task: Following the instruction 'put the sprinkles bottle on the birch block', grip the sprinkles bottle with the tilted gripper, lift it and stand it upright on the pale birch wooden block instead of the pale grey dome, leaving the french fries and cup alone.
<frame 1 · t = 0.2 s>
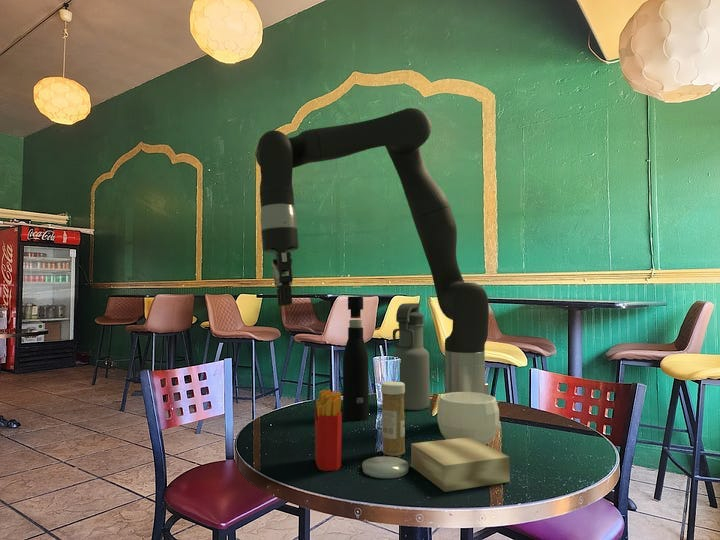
hand: (284, 305, 103), 28 cm above the table, tool pointing down, fingers open, 8 cm apart
birch block: (458, 473, 84), on the table
water bottle: (411, 407, 134), on the table
sprinkles bottle: (393, 453, 95), on the table
french fries: (328, 465, 89), on the table
black bottle: (355, 418, 122), on the table
pale grey dome: (385, 469, 86), on the table
cup: (468, 446, 100), on the table
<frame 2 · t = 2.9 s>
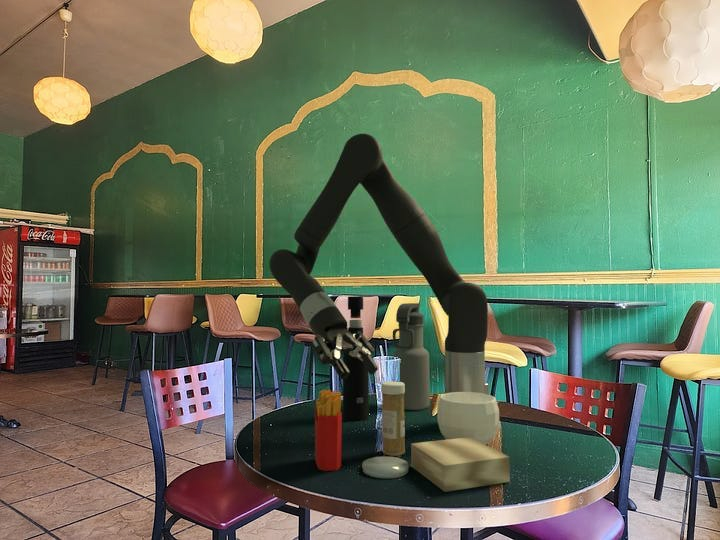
hand: (361, 374, 102), 14 cm above the table, tool tilted 45°, fingers open, 8 cm apart
nothing on the table moved.
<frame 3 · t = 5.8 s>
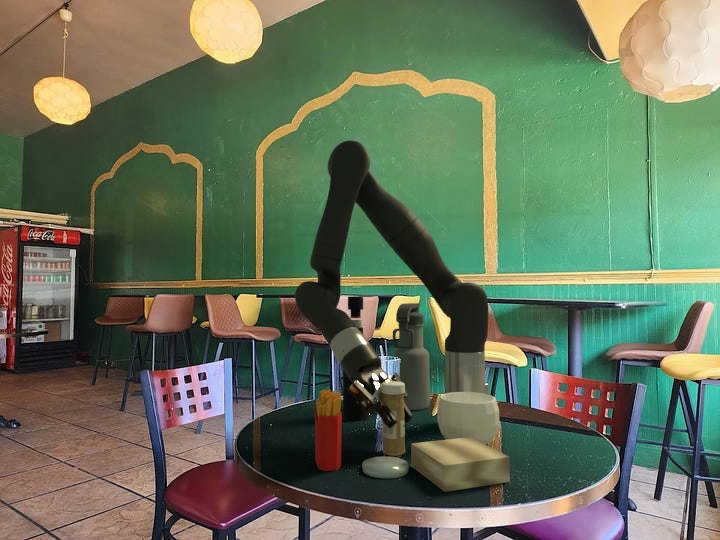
hand: (401, 422, 94), 6 cm above the table, tool tilted 45°, fingers closed on sprinkles bottle, 4 cm apart
sprinkles bottle: (393, 453, 95), on the table, touching gripper
everything else where it was.
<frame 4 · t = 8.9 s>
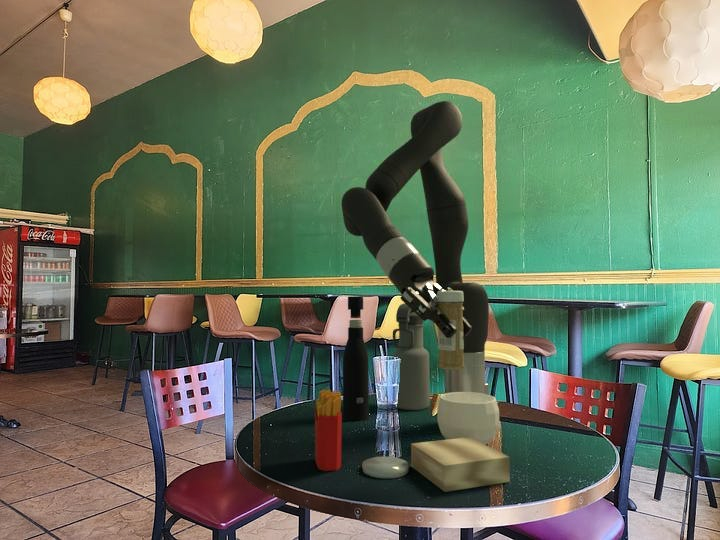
hand: (460, 333, 85), 24 cm above the table, tool tilted 45°, fingers closed on sprinkles bottle, 4 cm apart
sprinkles bottle: (450, 369, 86), point 18 cm above the table, touching gripper
everything else where it was.
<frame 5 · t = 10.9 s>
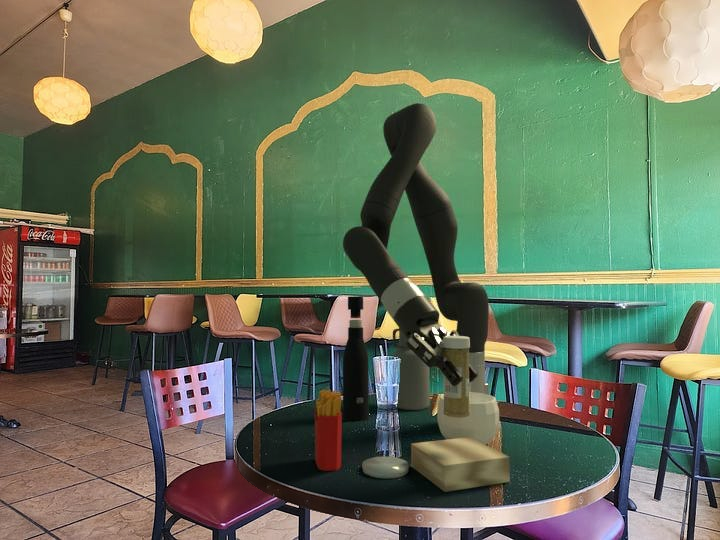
hand: (466, 380, 84), 16 cm above the table, tool tilted 45°, fingers closed on sprinkles bottle, 4 cm apart
sprinkles bottle: (456, 416, 85), point 10 cm above the table, touching gripper
everything else where it was.
when the fingers open (11 cm above the table, at t = 12.4 s): sprinkles bottle drops 1 cm, resting on birch block.
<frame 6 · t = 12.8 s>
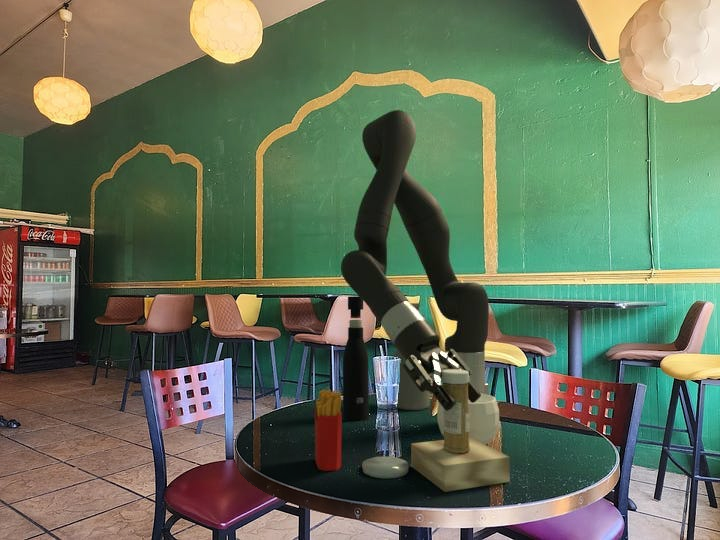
hand: (464, 403, 84), 12 cm above the table, tool tilted 45°, fingers open, 8 cm apart
sprinkles bottle: (456, 451, 84), point 4 cm above the table, touching birch block
everything else where it was.
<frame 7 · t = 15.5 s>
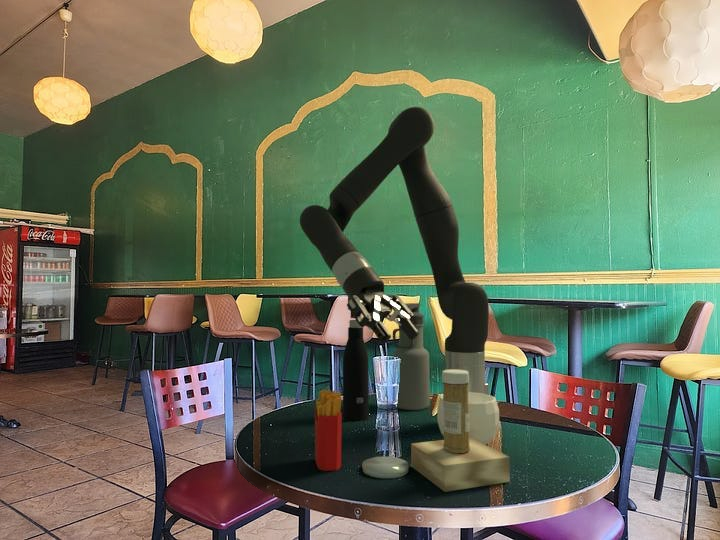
hand: (401, 338, 94), 22 cm above the table, tool tilted 45°, fingers open, 8 cm apart
nothing on the table moved.
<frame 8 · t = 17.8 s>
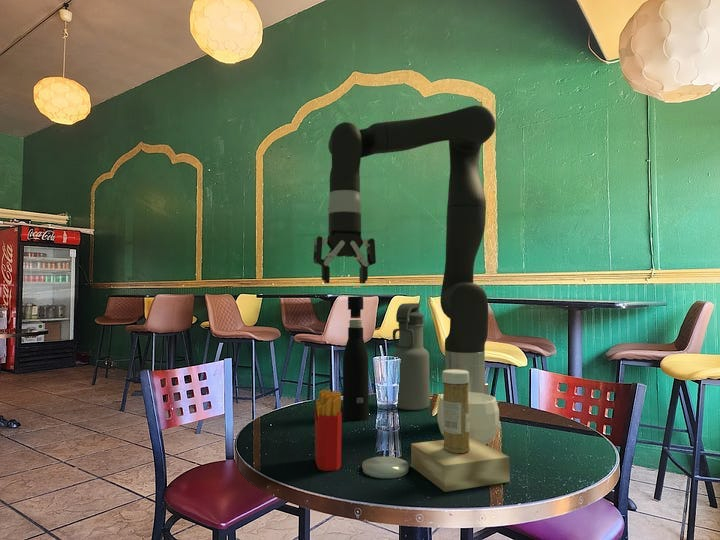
hand: (344, 283, 113), 33 cm above the table, tool pointing down, fingers open, 8 cm apart
nothing on the table moved.
at the end: sprinkles bottle inside the target area on the birch block (0.3 cm from its centre), point 3.8 cm above the birch block's base; sprinkles bottle tilted 0°; french fries moved 0.2 cm from its start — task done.
